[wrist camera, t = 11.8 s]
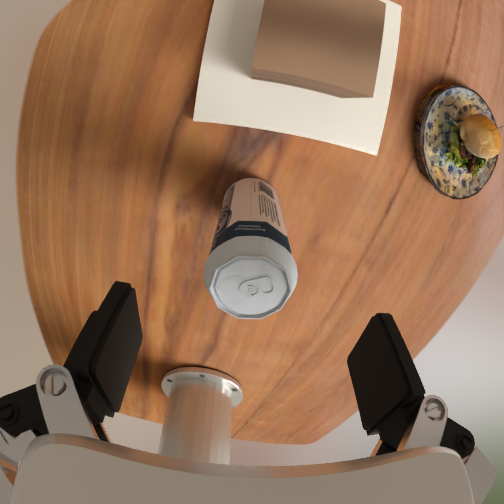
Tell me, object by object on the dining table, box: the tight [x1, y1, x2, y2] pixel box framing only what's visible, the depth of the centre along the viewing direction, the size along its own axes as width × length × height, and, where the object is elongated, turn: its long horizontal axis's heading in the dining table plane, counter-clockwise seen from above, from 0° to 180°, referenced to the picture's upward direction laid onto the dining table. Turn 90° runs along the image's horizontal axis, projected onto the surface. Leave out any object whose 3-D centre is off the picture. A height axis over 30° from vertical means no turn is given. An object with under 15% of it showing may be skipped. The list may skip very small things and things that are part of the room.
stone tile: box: [193, 0, 402, 156], centre depth 16 cm, size 15×15×1 cm
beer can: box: [204, 178, 298, 319], centre depth 18 cm, size 5×5×12 cm
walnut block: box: [251, 0, 386, 98], centre depth 13 cm, size 7×7×6 cm
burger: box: [413, 84, 503, 199], centre depth 16 cm, size 12×12×8 cm
